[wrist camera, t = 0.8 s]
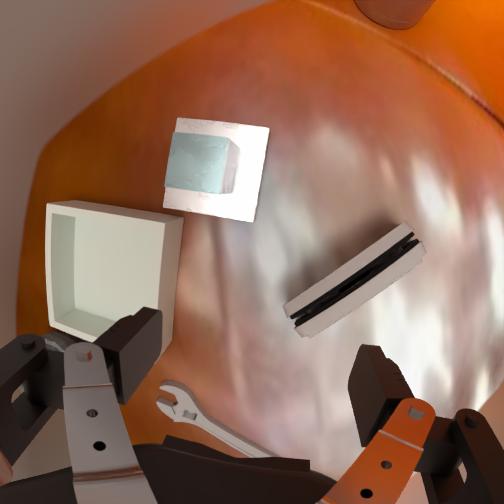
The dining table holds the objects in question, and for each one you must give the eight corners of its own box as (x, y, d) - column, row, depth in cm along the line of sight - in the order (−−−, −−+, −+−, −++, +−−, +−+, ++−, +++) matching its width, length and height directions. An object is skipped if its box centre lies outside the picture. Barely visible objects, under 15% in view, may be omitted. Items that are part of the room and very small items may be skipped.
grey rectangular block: (195, 142, 31) (173, 131, 24) (240, 148, 31) (228, 137, 24) (188, 186, 32) (164, 186, 25) (232, 193, 32) (218, 194, 25)
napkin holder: (308, 337, 36) (295, 357, 27) (288, 305, 37) (268, 314, 28) (421, 259, 33) (447, 253, 23) (400, 227, 34) (418, 209, 24)
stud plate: (183, 121, 32) (161, 107, 26) (269, 131, 32) (266, 117, 25) (169, 206, 35) (144, 210, 28) (254, 220, 34) (247, 228, 27)
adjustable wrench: (294, 460, 42) (294, 468, 40) (266, 474, 43) (265, 481, 41) (174, 373, 40) (170, 380, 38) (150, 393, 41) (146, 400, 39)
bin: (75, 200, 36) (46, 203, 30) (184, 217, 35) (165, 223, 29) (74, 310, 39) (49, 325, 33) (172, 340, 38) (155, 363, 32)
